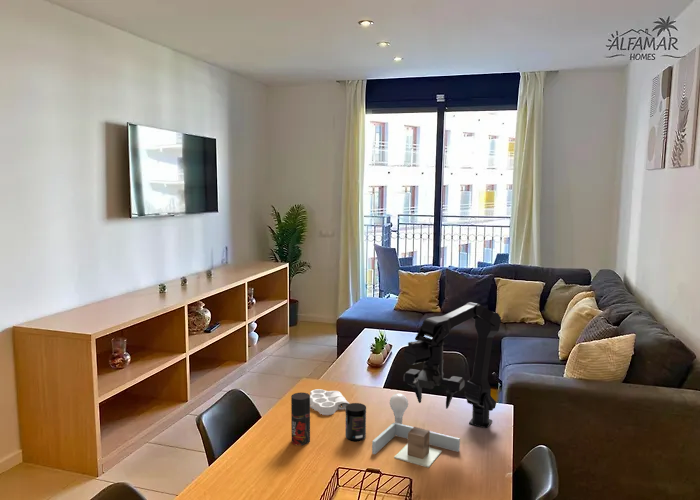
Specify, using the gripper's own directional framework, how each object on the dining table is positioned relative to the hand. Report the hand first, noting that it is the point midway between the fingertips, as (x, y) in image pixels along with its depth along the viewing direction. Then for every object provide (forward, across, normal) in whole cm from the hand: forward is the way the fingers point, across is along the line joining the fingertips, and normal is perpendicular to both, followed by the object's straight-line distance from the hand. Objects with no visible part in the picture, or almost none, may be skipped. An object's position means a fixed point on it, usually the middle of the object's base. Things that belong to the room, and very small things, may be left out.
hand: (433, 405), depth 167 cm
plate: (+11, 0, -12) cm, 16 cm away
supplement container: (+11, -22, -11) cm, 28 cm away
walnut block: (+11, 0, -12) cm, 16 cm away
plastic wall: (+11, -2, -10) cm, 15 cm away
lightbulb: (+12, -14, +4) cm, 19 cm away
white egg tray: (+12, -45, +6) cm, 47 cm away
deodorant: (+11, -36, -22) cm, 44 cm away
